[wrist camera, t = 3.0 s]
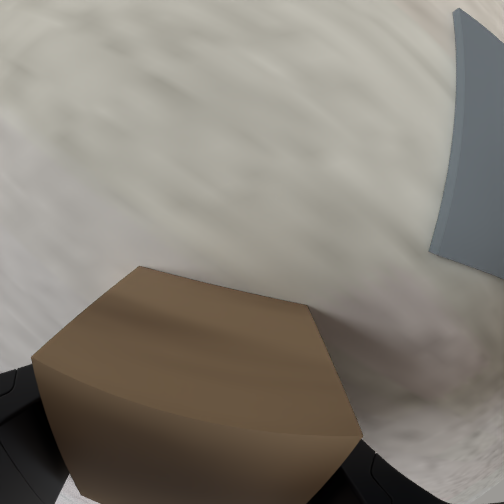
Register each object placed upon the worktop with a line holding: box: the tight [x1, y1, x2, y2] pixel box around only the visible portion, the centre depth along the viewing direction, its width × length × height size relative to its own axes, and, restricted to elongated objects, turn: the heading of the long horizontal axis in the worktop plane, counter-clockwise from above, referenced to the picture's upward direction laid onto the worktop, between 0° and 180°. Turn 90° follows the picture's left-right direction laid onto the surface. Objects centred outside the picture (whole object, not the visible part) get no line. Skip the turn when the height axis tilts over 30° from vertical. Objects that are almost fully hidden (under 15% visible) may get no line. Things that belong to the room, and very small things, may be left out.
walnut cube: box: [31, 266, 363, 504], centre depth 6 cm, size 5×5×5 cm
